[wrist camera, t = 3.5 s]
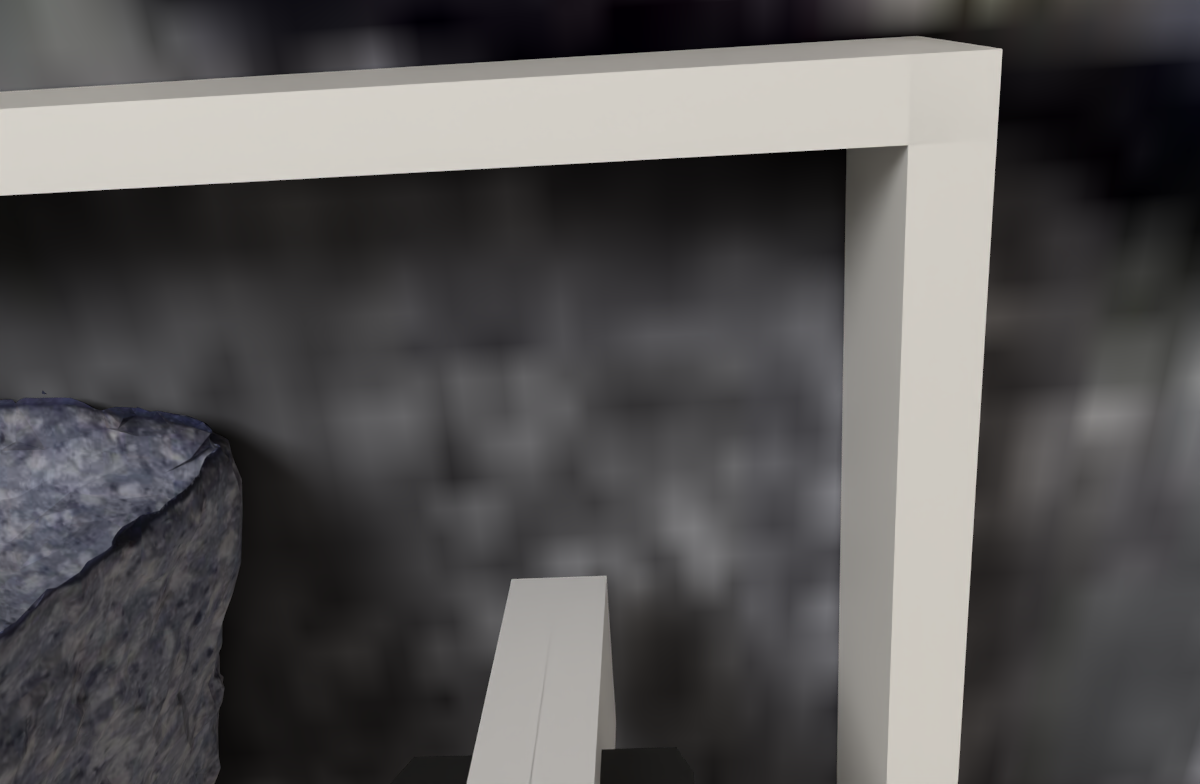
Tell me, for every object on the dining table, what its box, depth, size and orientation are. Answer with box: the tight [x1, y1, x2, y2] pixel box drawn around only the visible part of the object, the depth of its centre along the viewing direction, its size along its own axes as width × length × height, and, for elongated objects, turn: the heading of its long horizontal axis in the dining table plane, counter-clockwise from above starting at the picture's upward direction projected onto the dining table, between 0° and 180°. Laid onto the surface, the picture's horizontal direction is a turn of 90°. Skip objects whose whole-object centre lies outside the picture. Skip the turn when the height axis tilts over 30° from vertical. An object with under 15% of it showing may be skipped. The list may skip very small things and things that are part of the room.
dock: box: [0, 36, 1002, 784], centre depth 18 cm, size 20×18×4 cm
